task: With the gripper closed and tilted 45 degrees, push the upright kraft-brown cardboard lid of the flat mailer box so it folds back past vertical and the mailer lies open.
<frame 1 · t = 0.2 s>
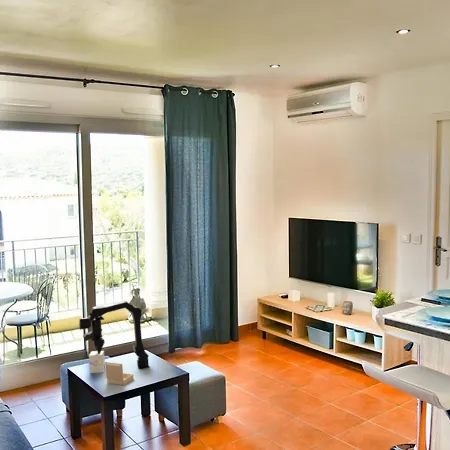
hand: (98, 351, 312), 15 cm above the table, tool pointing down, fingers open, 9 cm apart
ink box: (97, 370, 321), on the table
mailer: (120, 381, 301), on the table
lid: (114, 371, 295), point 8 cm above the table, hinge at 90.0°
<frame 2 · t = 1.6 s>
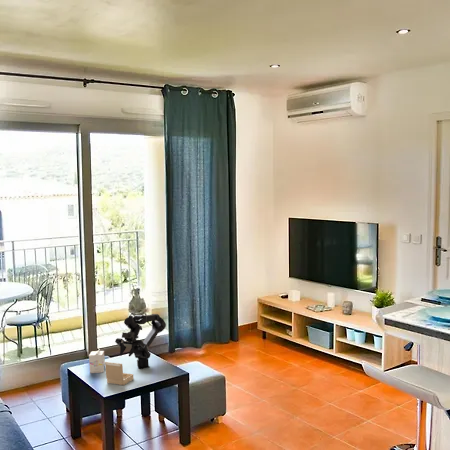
hand: (124, 355, 306), 14 cm above the table, tool tilted 45°, fingers open, 6 cm apart
nothing on the table moved.
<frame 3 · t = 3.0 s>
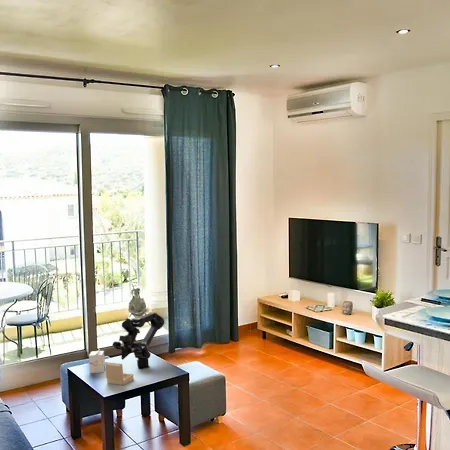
hand: (122, 359, 303), 12 cm above the table, tool tilted 45°, fingers closed
nothing on the table moved.
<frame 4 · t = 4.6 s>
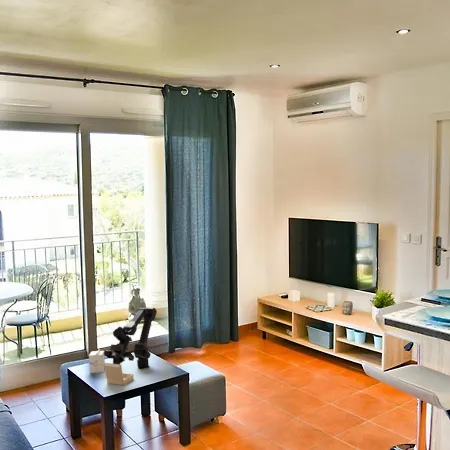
hand: (113, 368, 295), 10 cm above the table, tool tilted 45°, fingers closed, pressing on lid
lid: (113, 371, 295), point 8 cm above the table, hinge at 96.4°, touching gripper
everything else where it was.
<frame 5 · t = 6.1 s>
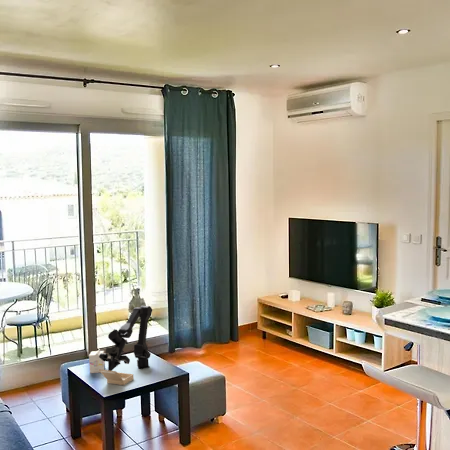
hand: (109, 372, 291), 9 cm above the table, tool tilted 45°, fingers closed, pressing on lid
lid: (111, 375, 293), point 7 cm above the table, hinge at 129.1°, touching gripper
everything else where it was.
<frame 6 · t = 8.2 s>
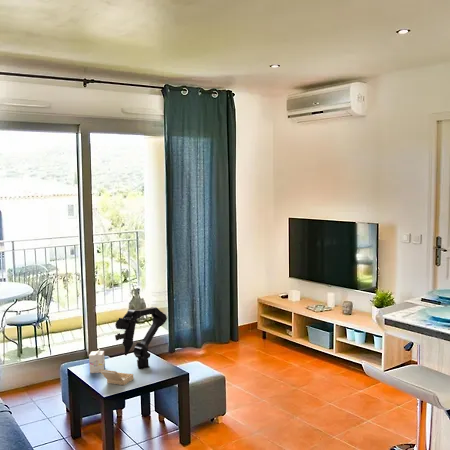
hand: (125, 355, 312), 12 cm above the table, tool tilted 20°, fingers closed
lid: (111, 375, 293), point 7 cm above the table, hinge at 129.1°
everything else where it was.
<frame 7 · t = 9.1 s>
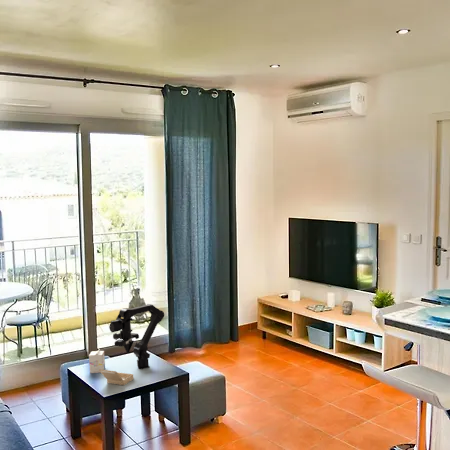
hand: (127, 353, 316), 12 cm above the table, tool pointing down, fingers closed
nothing on the table moved.
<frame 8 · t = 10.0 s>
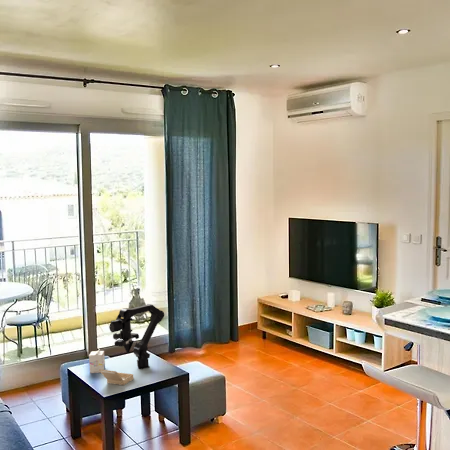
hand: (127, 353, 316), 12 cm above the table, tool pointing down, fingers closed
nothing on the table moved.
at the end: lid at +129° (first picture: +90°); ink box moved 0.3 cm from its start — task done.
